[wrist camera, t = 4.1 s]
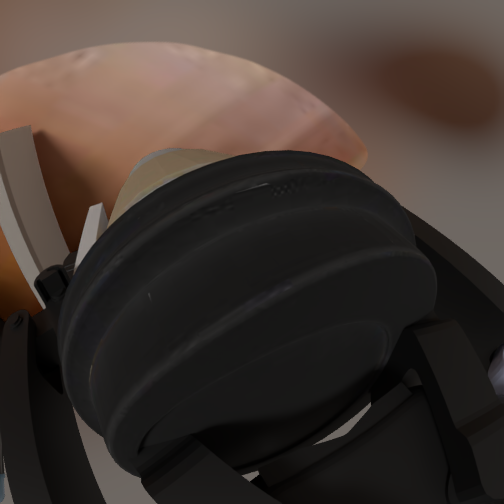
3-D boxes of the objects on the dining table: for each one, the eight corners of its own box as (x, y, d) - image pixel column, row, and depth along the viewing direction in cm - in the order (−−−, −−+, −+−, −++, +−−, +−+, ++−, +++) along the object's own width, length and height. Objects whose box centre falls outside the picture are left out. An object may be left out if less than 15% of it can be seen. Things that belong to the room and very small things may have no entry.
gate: (75, 262, 23) (64, 315, 17) (63, 266, 22) (50, 319, 16) (31, 124, 15) (-9, 135, 9) (18, 130, 15) (-24, 144, 9)
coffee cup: (256, 214, 20) (422, 363, 9) (145, 280, 19) (216, 495, 7) (205, 92, 14) (476, 104, 3) (68, 172, 13) (-45, 418, 1)
